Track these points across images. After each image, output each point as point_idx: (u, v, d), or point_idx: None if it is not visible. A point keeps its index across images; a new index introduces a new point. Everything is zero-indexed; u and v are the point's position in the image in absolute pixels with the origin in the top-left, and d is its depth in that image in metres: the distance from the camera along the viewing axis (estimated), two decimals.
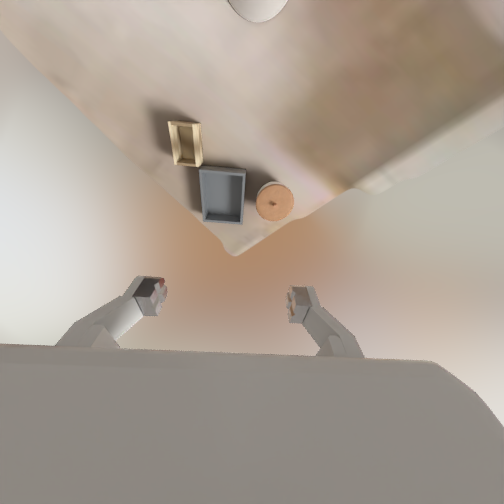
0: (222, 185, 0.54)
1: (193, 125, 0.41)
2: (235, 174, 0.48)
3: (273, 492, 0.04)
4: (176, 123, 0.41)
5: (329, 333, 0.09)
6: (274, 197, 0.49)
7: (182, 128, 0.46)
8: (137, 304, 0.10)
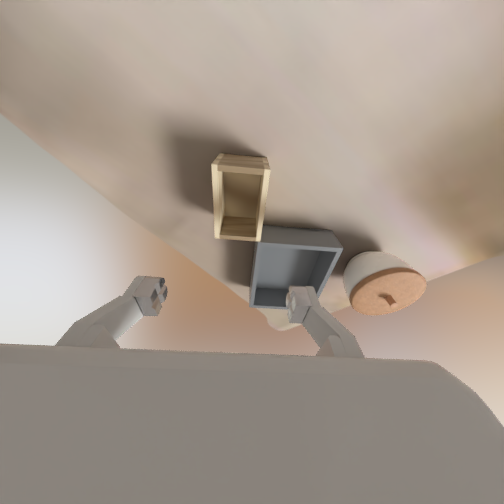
0: (285, 253, 0.32)
1: (267, 172, 0.18)
2: (324, 249, 0.26)
3: (273, 492, 0.04)
4: (230, 168, 0.18)
5: (329, 333, 0.09)
6: (391, 289, 0.27)
7: None
8: (137, 304, 0.10)
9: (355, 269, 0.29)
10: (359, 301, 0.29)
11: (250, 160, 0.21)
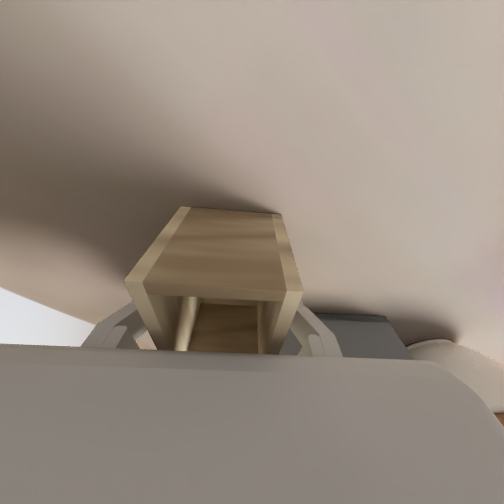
0: None
1: (294, 296, 0.06)
2: None
3: (273, 492, 0.04)
4: (183, 288, 0.06)
5: (310, 332, 0.09)
6: None
7: None
8: None
9: None
10: None
11: (246, 234, 0.09)
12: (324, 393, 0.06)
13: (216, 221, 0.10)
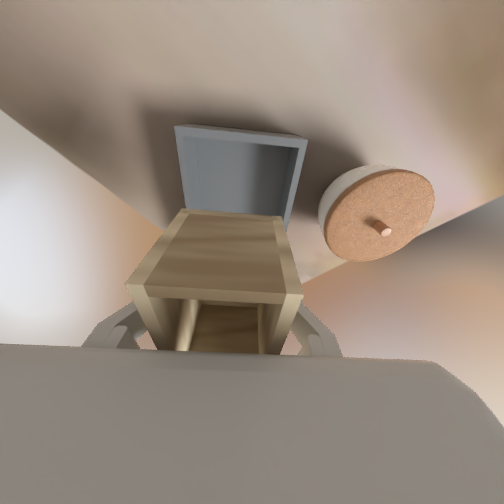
0: (236, 176, 0.23)
1: (294, 299, 0.06)
2: (279, 142, 0.17)
3: (273, 492, 0.04)
4: (184, 291, 0.06)
5: (310, 332, 0.09)
6: (382, 208, 0.18)
7: None
8: None
9: (331, 189, 0.20)
10: (336, 233, 0.20)
11: (246, 236, 0.09)
12: (324, 393, 0.06)
13: (217, 223, 0.10)
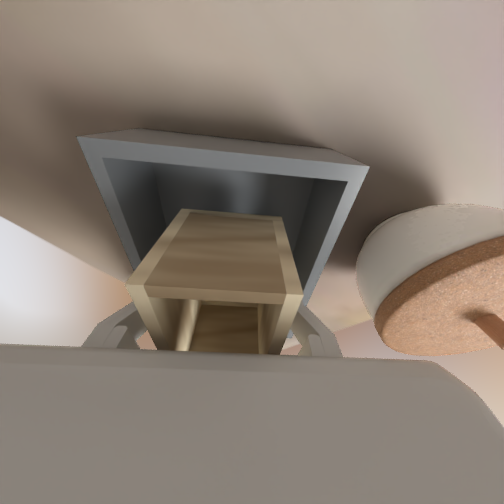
0: None
1: (293, 299, 0.06)
2: (308, 170, 0.08)
3: (273, 492, 0.04)
4: (184, 291, 0.06)
5: (310, 332, 0.09)
6: None
7: None
8: None
9: (391, 246, 0.12)
10: (404, 329, 0.11)
11: (246, 237, 0.09)
12: (324, 393, 0.06)
13: (217, 223, 0.10)
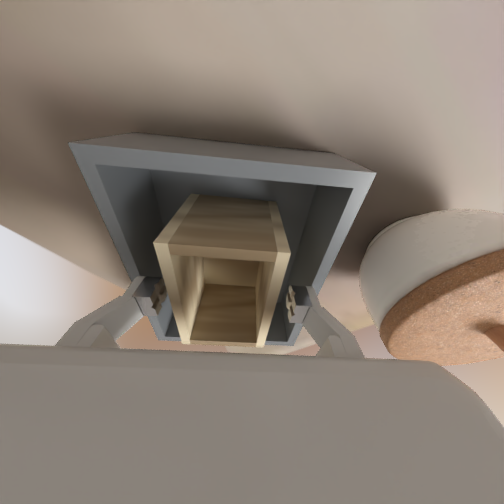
0: None
1: (283, 257, 0.08)
2: (312, 177, 0.08)
3: (273, 492, 0.04)
4: (198, 249, 0.08)
5: (329, 333, 0.09)
6: None
7: None
8: (137, 304, 0.10)
9: (397, 253, 0.11)
10: (411, 340, 0.11)
11: (246, 215, 0.11)
12: (324, 393, 0.06)
13: (221, 205, 0.11)
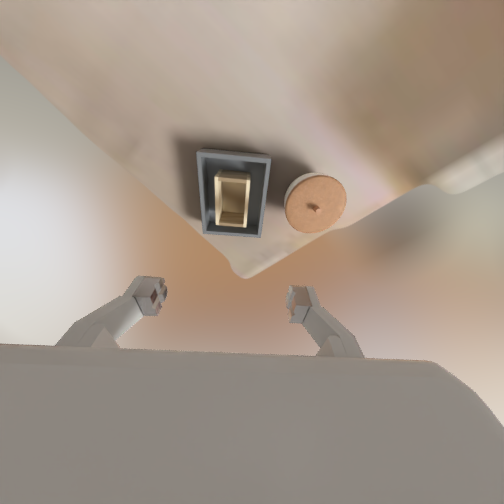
0: None
1: (248, 181, 0.30)
2: (255, 160, 0.30)
3: (273, 491, 0.04)
4: (226, 179, 0.30)
5: (329, 333, 0.09)
6: (315, 197, 0.31)
7: None
8: (137, 304, 0.10)
9: (289, 187, 0.33)
10: (292, 213, 0.33)
11: (239, 174, 0.33)
12: (324, 393, 0.06)
13: (230, 172, 0.34)
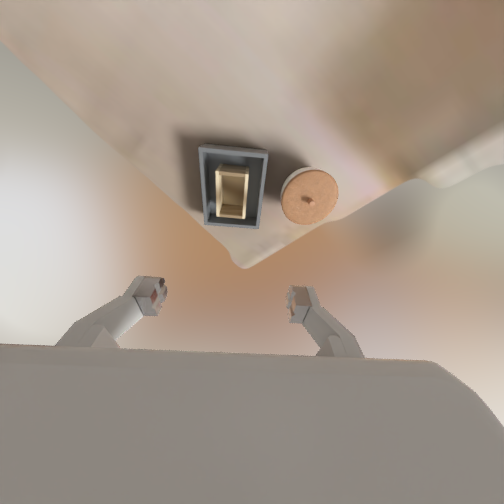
0: None
1: (247, 175, 0.33)
2: (253, 155, 0.32)
3: (273, 492, 0.04)
4: (226, 173, 0.32)
5: (329, 333, 0.09)
6: (309, 190, 0.33)
7: None
8: (137, 304, 0.10)
9: (285, 181, 0.36)
10: (288, 206, 0.35)
11: (238, 168, 0.35)
12: (324, 393, 0.06)
13: (230, 166, 0.36)
